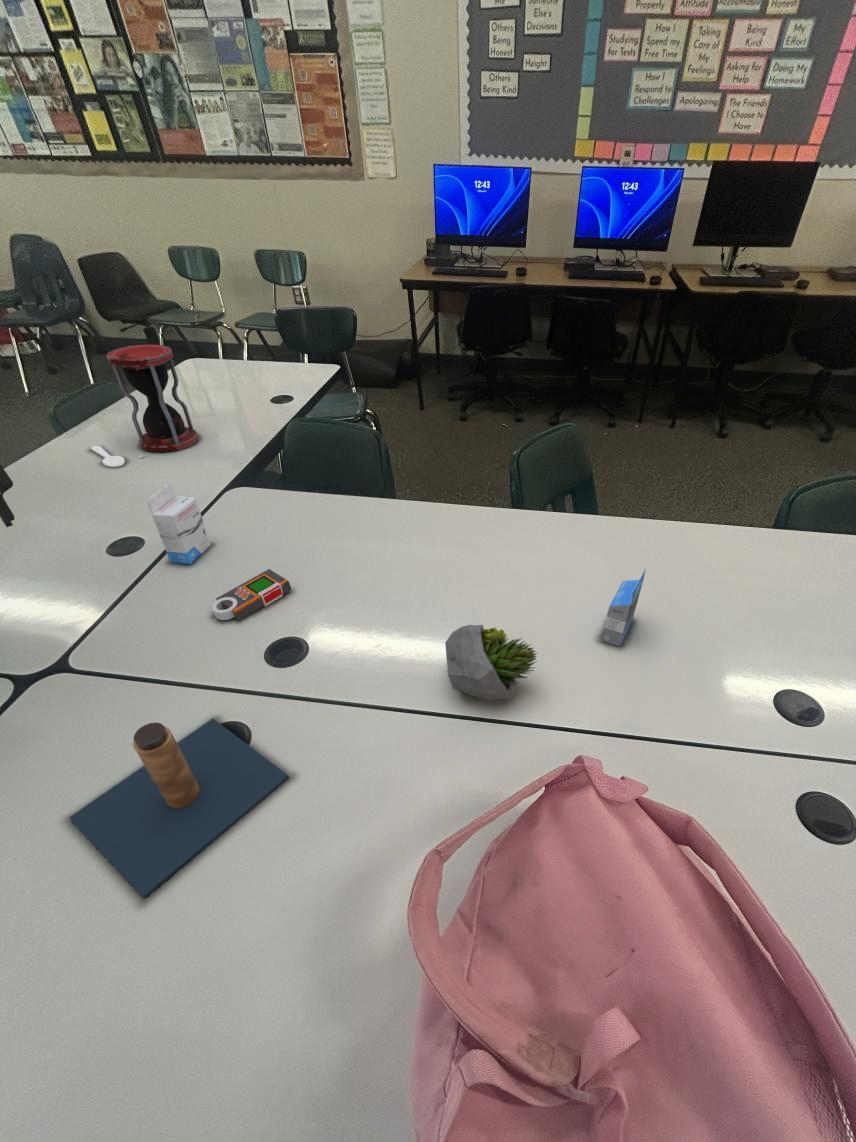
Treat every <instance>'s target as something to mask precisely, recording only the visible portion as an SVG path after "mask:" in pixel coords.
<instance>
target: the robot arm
mask: <svg viewBox="0 0 856 1142" xmlns="http://www.w3.org/2000/svg"><path fill="white" fill-rule="evenodd" d="M13 486H14V482H13V480H12V479H11V478H10V476H9V475H8V473H7V472H6V470H5V469H4V467H3V466H2V464H1V463H0V519H1V521H2V523H3V524H4V526H5V527H6V528H9V527H12V526H14V525H13V522H12V521H15V515H14V513H13V511H12V510H11V508H10V506H9V504H8V503H7V501H6V500H5V498H4V494H5V493H6V492H7V491H9V490H10V489H12V488H13Z"/></svg>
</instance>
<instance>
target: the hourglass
mask: <svg viewBox="0 0 856 1142" xmlns="http://www.w3.org/2000/svg"><path fill="white" fill-rule="evenodd" d="M172 350H173V349H172V348H171V347H169V346H166V345H162V344H138V345H137V344H136V345H128V346H123V347H119V348H116V349H113V350H111V351H108V352H107V354H106V359H107V361H108V363H109V365H111V366H112V369H113V372H114V374H115V377H116V379H117V382H118V386H119V387H120V390H121V392H122V393H123V395H124V396H125V397H127V398H128V399H129V400H130V402H131V403H132V407H133V410H132V413H131V420H132V422H133V425H134V428H135V430H136V434H137V435H138V444H139V446H140V448H141V449H143V450H144V451H146V452H151V453H171V452H175V451H180V450H184V449H186V448H189V447H191V446H193V445H195V444H196V443H197V442H198V441H199V435H198V432H197V431H196V429H194V426H193V423H192V419H191V416H190V414H189V410H188V407H187V405H186V403H185V402H184V401H183V400H181V399H180V397H179V395H178V386H179V378H178V374H177V372H176V371H177V370H176V368H175V365H174V361H173V357H174V353H173V351H172ZM166 362H168V365H169V368H170V369H169V370H170V371H171V374H172V378H173V385H172V387H171V396H172V398H173V400H174V401H175V402H176V403H178V404H180V407H182V410H183V413H184V417H185V420H186V422H187V423H186V424H187V426H185V422H184V419H183V417H182V415H181V414H180V413H179V412H178V411H177V410H176V408H174V407H173V406H172V405H170V404H168V403H167V402H165V398H164V391H165V390H166V388H167V386H168V382H169V372H168V368H167V365H166V364H165V363H166ZM119 367H121V368H122V369H123V373H124V376H125V378H126V380H127V382H128V383H129V384H130V385H131V387H132V388H133V389H135V390H136V391H137V392H139V393H140V394H142V395H143V396H145V397H146V399H147V406H146V409H145V410H144V412H143V415H142V424H143V428H144V430H145V433H144V434H143V432H142V429H141V426H140V424H139V421H138V418H137V416H138V415H137V414H138V411H139V410H140V409H139V402H138V400H137V399H136V397H135V396H134V395H132V394H130V393H129V392H128V390H127V388H126V386H125V384H124V383H125V382H124V381H123V377H122V375H121V372H120V370H119Z"/></svg>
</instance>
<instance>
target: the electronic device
mask: <svg viewBox="0 0 856 1142" xmlns="http://www.w3.org/2000/svg"><path fill="white" fill-rule="evenodd" d="M290 591H292V587H291V583H290V581H289V580H288V579H286V578H285V577H283V575H281V574H279V573H277V572H275V571H274V570H272V569H270V568H268V569H266V570H264V571H263V572H261V573H259V574H257V575H256V576H254V577H251V578H250V579H248V580H246V581H244V582H243V583H241V584H239V585H237V586H236V587H234V588H232V589H230V590H229V591H227V592H225V593H223V594H221V595H219V596H218V597H216V598H215V601H214V602H213V603H212V604H211V610H212V613H213V615H214V617H215V618H216V619H217V620H219V621H226V620H227V621H228V620H231V619H236V621H238V622H239V621H241V620H243V619H245V618H247V617H249V616H250V615H252V614H253V613H255V612H256V611H259V610H260V609H261V608H264V607H265V608H266V607H267V606H269V605H271V604H272V603H274V602H276V601H277V600H279V599H281V598H282V597H283V596H284V595H285V594H287V593H289V592H290Z"/></svg>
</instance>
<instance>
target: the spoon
mask: <svg viewBox="0 0 856 1142" xmlns="http://www.w3.org/2000/svg"><path fill="white" fill-rule="evenodd" d="M90 449H91V451H93V452H95V453H96V454H98V455H99V456H101V457H103V459H102V461H101V462H102V465H103V466H106V467H111V468H116V467H121V466H123V465H124V464H125V463H126V460H125V458H124V457H123V456H120V455H111V454H109V453H108V452H107V451H106V450H105V449H104V448H103V447H102V446H100V445H94V446H93V445H92V446H91V447H90Z"/></svg>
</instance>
